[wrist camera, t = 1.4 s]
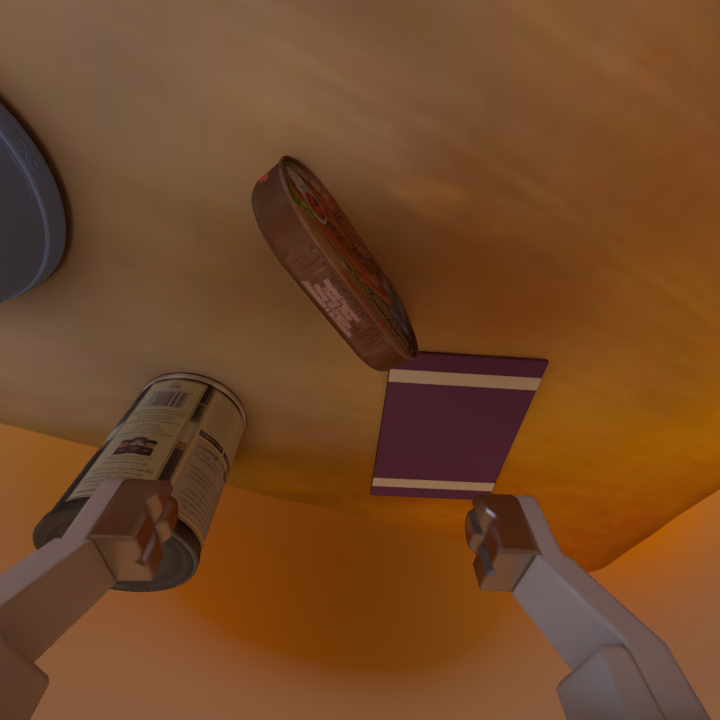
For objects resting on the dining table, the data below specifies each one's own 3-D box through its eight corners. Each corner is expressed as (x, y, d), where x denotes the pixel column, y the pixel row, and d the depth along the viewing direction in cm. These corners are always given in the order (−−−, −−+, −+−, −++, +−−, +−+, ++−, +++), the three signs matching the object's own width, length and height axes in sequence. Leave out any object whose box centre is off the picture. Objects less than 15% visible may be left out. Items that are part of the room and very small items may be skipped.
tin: (414, 318, 30) (431, 379, 23) (382, 337, 31) (389, 401, 24) (299, 146, 23) (274, 159, 16) (262, 176, 24) (224, 201, 17)
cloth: (547, 359, 33) (549, 362, 32) (486, 497, 44) (487, 500, 43) (392, 349, 32) (392, 352, 32) (370, 492, 43) (370, 495, 43)
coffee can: (185, 460, 40) (113, 604, 28) (116, 392, 35) (-7, 534, 23) (267, 434, 38) (226, 577, 26) (207, 357, 32) (122, 494, 21)
